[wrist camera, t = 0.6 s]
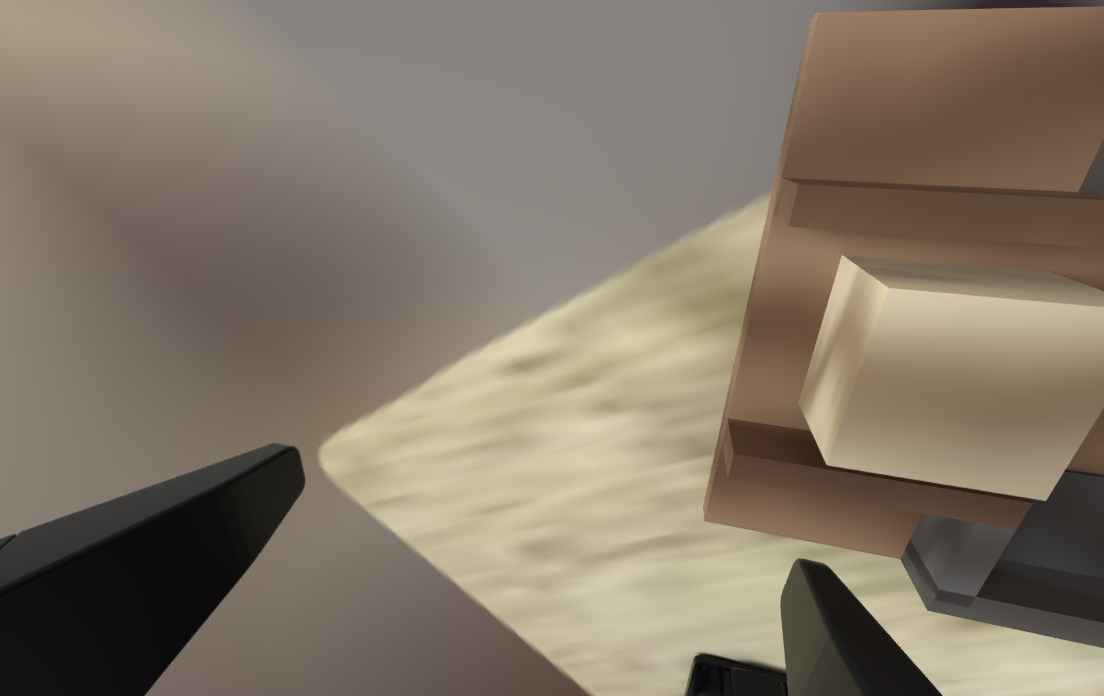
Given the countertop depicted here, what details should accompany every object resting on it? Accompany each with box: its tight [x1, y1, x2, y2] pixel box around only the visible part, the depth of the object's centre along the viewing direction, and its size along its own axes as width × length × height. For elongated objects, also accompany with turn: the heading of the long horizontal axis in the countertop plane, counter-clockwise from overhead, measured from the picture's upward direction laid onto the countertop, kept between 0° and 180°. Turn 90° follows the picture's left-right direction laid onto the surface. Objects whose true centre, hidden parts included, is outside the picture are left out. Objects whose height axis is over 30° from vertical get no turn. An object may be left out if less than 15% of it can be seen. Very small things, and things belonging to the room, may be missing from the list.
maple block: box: [798, 255, 1104, 501], centre depth 15 cm, size 6×6×4 cm
